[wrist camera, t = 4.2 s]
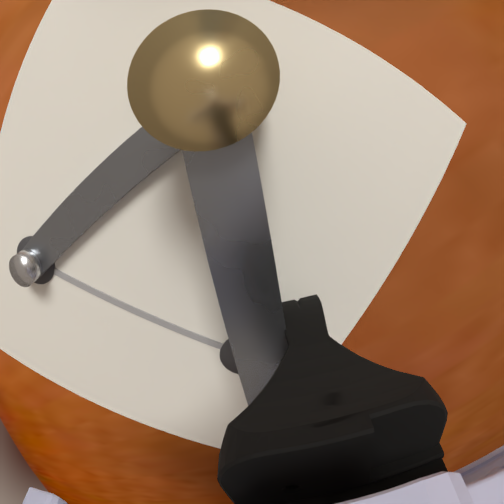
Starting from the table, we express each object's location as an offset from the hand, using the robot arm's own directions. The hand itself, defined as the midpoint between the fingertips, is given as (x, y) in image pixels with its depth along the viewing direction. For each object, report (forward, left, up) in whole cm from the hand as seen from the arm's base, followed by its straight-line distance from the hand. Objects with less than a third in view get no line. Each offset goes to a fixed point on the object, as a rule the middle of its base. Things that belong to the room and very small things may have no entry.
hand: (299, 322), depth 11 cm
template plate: (0, +6, -2) cm, 6 cm away
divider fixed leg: (+1, +9, -1) cm, 9 cm away
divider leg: (+2, +3, 0) cm, 4 cm away
